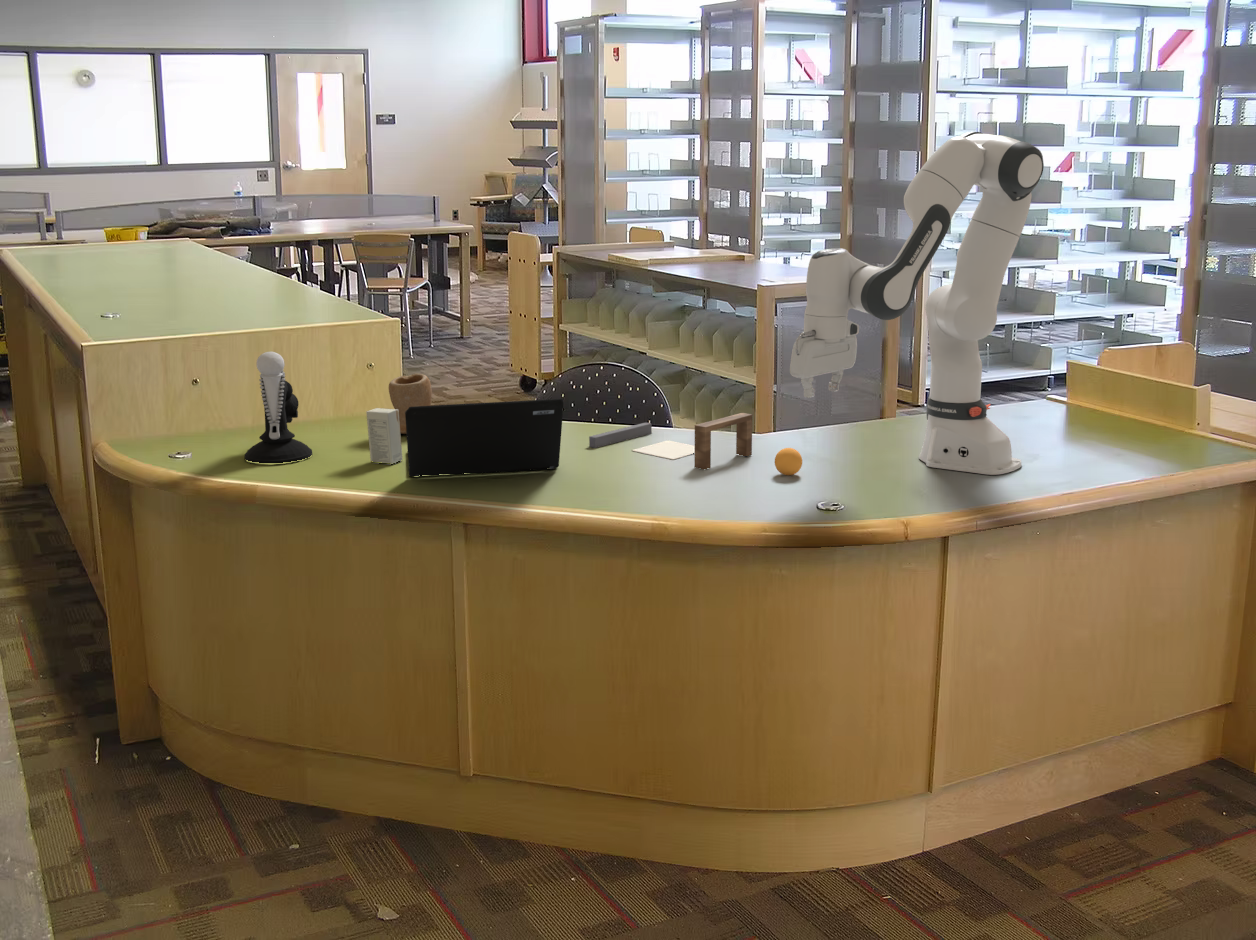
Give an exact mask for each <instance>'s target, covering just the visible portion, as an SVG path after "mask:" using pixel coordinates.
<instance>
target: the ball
mask: <svg viewBox="0 0 1256 940" xmlns="http://www.w3.org/2000/svg"><path fill="white" fill-rule="evenodd" d="M774 466H775V469H776V470H777V471H778V472H779V473H780V474H781V475H784V476H793V475H795V474H797V473H798V472H799V471H801V469H802V466H803V457H802V454H801V453H800V452H799V451H798V450H797V449H795V448H792V447H785V448H781V449H780V450H779V451H778V452H777V453H776V454H775V457H774Z"/></svg>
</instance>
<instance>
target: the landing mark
mask: <svg viewBox="0 0 1256 940" xmlns="http://www.w3.org/2000/svg"><path fill="white" fill-rule="evenodd" d="M631 452H634V453H639V454H645V455H649V456H654V457H658V458H663V459H667V460H672V461H675V460H679V459H681V458H684V456H685V457H688V456H687V455H689V456H691V455H690V454H692V455H694V454H693V453H695V445H692V444H688V443H683V442H678V441H674V440H669V439H668V440H667V439H666V440H664V441H660V442H655V443H653V444H649V445H645V446H643V447H642V446H641V447H638V448H635V449H631Z"/></svg>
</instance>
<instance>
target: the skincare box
mask: <svg viewBox="0 0 1256 940" xmlns="http://www.w3.org/2000/svg"><path fill="white" fill-rule="evenodd" d="M365 414H366V421H367V432H368V433H367V435H368V436H367V437H368V444H369V458H370V462H371V461H373V462H382V463H391V464H393V463H395V464H397V463H396V462H398V461H400V462H402V461H403V450H402V437H401V434H400V422H399V410H398V409H394V408H383V407H381V408H379V407H376V408H373V409H370V410H367V411H366V412H365ZM401 460H402V461H401ZM398 463H399V462H398ZM391 464H390V465H391ZM393 465H394V464H393Z"/></svg>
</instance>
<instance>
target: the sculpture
mask: <svg viewBox="0 0 1256 940" xmlns="http://www.w3.org/2000/svg"><path fill="white" fill-rule="evenodd" d="M256 369H257V371H259V373H260V374H259V382H260V383H259V385H260V386H259V388H260V389H261V390H260V393H261V395H260V396H261V400H262V402H263V403H262V405H263V409H264V425H265V429H264V432H263V433H262V434H261V435H259V440H261V441H259V442H257V443H255V444H254V445H252V446H251V447H250V448H249V449H247V451H246V453H244V460H245V459H246V460H248V461H252V462H259V463H283V462H291V461H297V460H302V459H305V458H308V457H310V456H311V455H312V456H313V449H312V448H310V447H309V446H308V445H307V444H305V443H303V441H299V440H298V439H294V438H295V433H293V432H292V431H290V430H289V428H288V424H291V423H292V421H293V419H298V417H299V411H298V408H299V400H298V397H297V396H296V395H295V394H294V392H293V386H292V384H291V383H290V382H288V381H287V380H286V372H285V371H284V369H285V359H284V358H283V356H282V355H281V354H280V353H277V352H275V351H266V352H263V353H261V354H260V355H259V356H258V358H257V359H256Z"/></svg>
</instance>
